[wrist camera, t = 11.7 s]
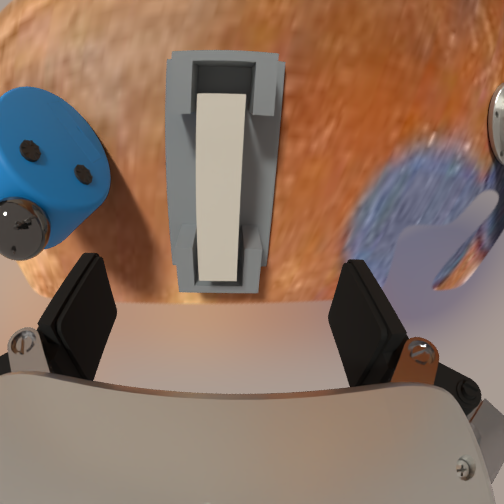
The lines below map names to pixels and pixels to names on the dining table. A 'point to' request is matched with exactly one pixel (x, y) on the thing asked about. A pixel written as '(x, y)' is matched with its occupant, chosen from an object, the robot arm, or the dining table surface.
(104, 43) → the dining table surface
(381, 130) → the dining table surface
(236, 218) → the light grey rectangular block
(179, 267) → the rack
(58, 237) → the alarm clock
